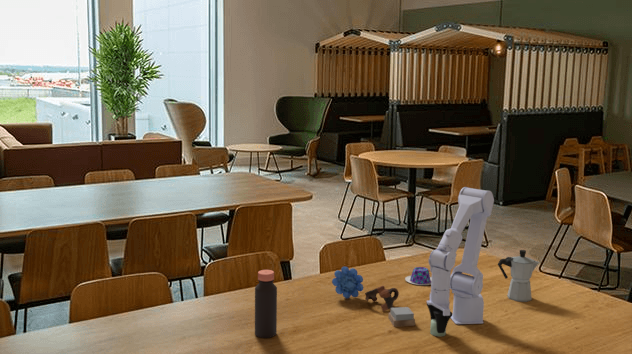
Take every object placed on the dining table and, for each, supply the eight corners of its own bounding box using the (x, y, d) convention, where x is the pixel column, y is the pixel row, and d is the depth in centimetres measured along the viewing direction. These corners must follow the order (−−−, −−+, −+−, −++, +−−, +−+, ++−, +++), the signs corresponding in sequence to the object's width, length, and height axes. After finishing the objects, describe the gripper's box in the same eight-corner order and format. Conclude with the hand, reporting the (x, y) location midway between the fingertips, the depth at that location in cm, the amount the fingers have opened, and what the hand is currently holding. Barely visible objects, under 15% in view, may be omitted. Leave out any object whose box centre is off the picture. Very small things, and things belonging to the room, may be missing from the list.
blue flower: (334, 303, 230) (334, 270, 228) (330, 296, 236) (330, 264, 234) (366, 301, 232) (367, 269, 230) (361, 295, 239) (362, 263, 237)
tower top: (407, 312, 217) (408, 306, 217) (413, 319, 212) (413, 313, 211) (390, 313, 216) (390, 307, 216) (395, 320, 211) (395, 314, 210)
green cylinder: (442, 330, 209) (443, 318, 208) (447, 336, 204) (448, 324, 203) (428, 330, 208) (428, 318, 207) (432, 336, 203) (433, 324, 203)
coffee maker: (534, 294, 243) (538, 247, 240) (540, 303, 234) (544, 254, 231) (493, 292, 244) (496, 245, 241) (497, 300, 236) (500, 252, 233)
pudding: (402, 284, 252) (403, 271, 251) (407, 275, 263) (408, 262, 262) (434, 288, 249) (434, 275, 248) (437, 278, 260) (438, 266, 259)
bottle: (265, 327, 208) (265, 267, 204) (281, 333, 203) (281, 271, 200) (250, 334, 202) (250, 272, 199) (265, 340, 198) (266, 277, 195)
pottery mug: (377, 314, 222) (367, 292, 223) (367, 317, 230) (358, 295, 232) (407, 302, 226) (397, 279, 227) (396, 304, 234) (387, 283, 236)
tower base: (408, 318, 219) (408, 311, 218) (414, 327, 212) (415, 319, 211) (388, 319, 218) (388, 312, 217) (393, 328, 211) (394, 320, 210)
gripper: (421, 280, 210) (419, 320, 212) (435, 296, 196) (432, 339, 198) (442, 279, 211) (440, 319, 213) (457, 295, 197) (455, 338, 199)
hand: (438, 329), depth 206 cm, fingers open, 5 cm apart
